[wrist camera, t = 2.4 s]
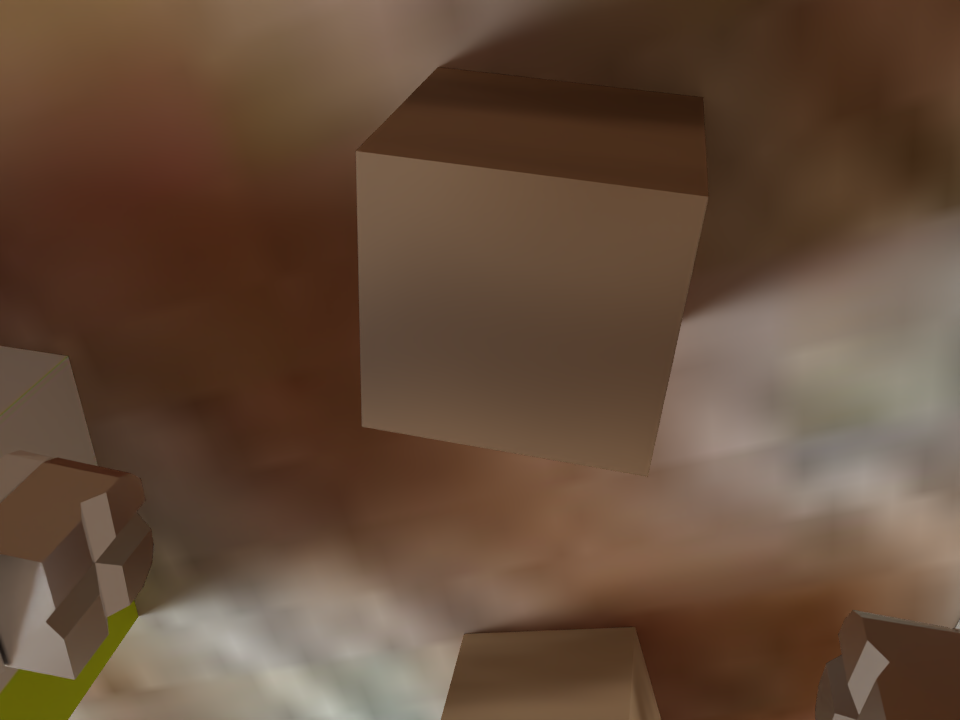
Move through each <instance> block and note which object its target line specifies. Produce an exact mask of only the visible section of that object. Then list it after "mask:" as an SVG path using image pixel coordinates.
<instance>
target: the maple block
mask: <svg viewBox="0 0 960 720" xmlns="http://www.w3.org/2000/svg"><path fill="white" fill-rule="evenodd" d="M441 720H661V717H660V713H659V710H658V706H657V703H656V699H655V696H654V692H653V688H652V685H651V681H650V678H649V674H648V671H647V667H646V664H645V660H644V657H643V653H642V650H641V646H640V643H639V639H638V636H637V632H636V629H635V627H620V628H596V629H572V630H548V631H524V632H500V633H476V634H464V636H463V640H462V644H461V647H460V651H459V655H458V658H457V662H456V666H455V669H454V673H453V677H452V681H451V684H450V688H449V692H448V695H447V699H446V703H445V706H444V710H443V714H442V718H441Z"/></svg>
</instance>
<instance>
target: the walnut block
mask: <svg viewBox="0 0 960 720" xmlns="http://www.w3.org/2000/svg"><path fill="white" fill-rule="evenodd" d="M356 184H357V230H358V276H359V322H360V368H361V414H362V427H366V428H372V429H378V430H384V431H389V432H395V433H401V434H406V435H412V436H418V437H424V438H429V439H435V440H441V441H446V442H452V443H458V444H463V445H469V446H475V447H481V448H486V449H492V450H498V451H503V452H509V453H515V454H521V455H526V456H532V457H538V458H543V459H549V460H555V461H560V462H566V463H572V464H578V465H583V466H589V467H595V468H600V469H606V470H612V471H618V472H623V473H629V474H635V475H640V476H646V477H648V473H649V469H650V464H651V460H652V455H653V450H654V446H655V441H656V437H657V432H658V427H659V423H660V418H661V414H662V409H663V404H664V400H665V395H666V391H667V386H668V382H669V377H670V372H671V368H672V363H673V359H674V354H675V349H676V345H677V340H678V336H679V331H680V326H681V322H682V317H683V313H684V308H685V304H686V299H687V294H688V290H689V285H690V281H691V276H692V271H693V267H694V262H695V258H696V253H697V248H698V244H699V239H700V235H701V230H702V226H703V221H704V216H705V212H706V207H707V203H708V198H709V192H708V175H707V157H706V139H705V122H704V104H703V97H696V96H687V95H678V94H669V93H661V92H652V91H643V90H634V89H626V88H617V87H608V86H599V85H590V84H582V83H573V82H564V81H555V80H547V79H538V78H529V77H520V76H512V75H503V74H494V73H485V72H477V71H468V70H459V69H450V68H442V67H438V68H437V69H436V70H435V71H434V72H433V73H432V74H431V75H430V76H429V77H428V78H427V79H426V80H425V81H424V82H423V83H422V84H421V85H420V86H419V87H418V88H417V89H416V90H415V91H414V92H413V93H412V94H411V95H410V96H409V97H408V98H407V99H406V100H405V101H404V102H403V103H402V104H401V105H400V106H399V107H398V108H397V109H396V111H395V112H394V113H393V114H392V115H391V116H390V117H389V118H388V119H387V120H386V121H385V122H384V123H383V124H382V125H381V126H380V127H379V128H378V129H377V130H376V131H375V132H374V133H373V134H372V135H371V136H370V137H369V138H368V139H367V140H366V141H365V142H364V143H363V144H362V145H361V146H360V147H359V148H358V149H357V150H356Z"/></svg>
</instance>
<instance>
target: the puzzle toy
mask: <svg viewBox="0 0 960 720" xmlns="http://www.w3.org/2000/svg"><path fill="white" fill-rule="evenodd" d="M18 450H22V451H27V452H31V453H36V454H40V455H44V456H49V457H53V458H57V457H58V458H63V459H67V460H72V461H77V462H81V463H86V464H90V465H95V466H98V465H97V461H96V457H95V453H94V450H93V446H92V442H91V439H90V435H89V431H88V427H87V424H86V420H85V416H84V413H83V409H82V405H81V402H80V398H79V394H78V390H77V387H76V383H75V379H74V376H73V372H72V368H71V365H70V361H69V357H68V356H64V355H58V354H51V353H44V352H38V351H31V350H24V349H18V348H11V347H4V346H0V459H1V458H2V457H3V456H4V455H5V454H8V453H12V452H15V451H18ZM137 618H138V613H137V609H136V605H135V602H134V600H133V602H132V603H131V605H129V606H127V607H126V608H124V609H122V610H120V611H118V612H116V613H114V614H112V615H110V616H108V617H107V620H108V632H109V635H108V636H107V637H106V639H105V640H104V641H103V643H102V644H101V645H100V647H99V648H98V649H97V651H96V652H95V653H94V655H93V656H92V657H91V659H90V660H89V662H88V663H87V664H86V666H85V667H84V668H83V670H82V671H81V672H80V674H79V675H78V676H77V678H76V679H75V680H73V679H68V678H63V677H58V676H53V675H48V674H43V673H38V672H33V671H27V670H22V669H17V668H12V667H7V666H5V668H6V670H5V671H4V672H2V673H1V674H0V720H68V719H69V717H70V716H71V715H72V713H73V712H74V710H75V709H76V707H77V706H78V704H79V703H80V701H81V700H82V698H83V697H84V695H85V694H86V693H87V691H88V690H89V688H90V687H91V685H92V684H93V682H94V681H95V679H96V678H97V676H98V675H99V673H100V672H101V671H102V669H103V668H104V666H105V665H106V663H107V662H108V660H109V659H110V657H111V656H112V654H113V653H114V652H115V650H116V649H117V647H118V646H119V644H120V643H121V641H122V640H123V638H124V637H125V635H126V634H127V632H128V631H129V630H130V628H131V627H132V625H133V624H134V622H135V621H136V619H137Z"/></svg>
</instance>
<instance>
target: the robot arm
mask: <svg viewBox="0 0 960 720" xmlns="http://www.w3.org/2000/svg"><path fill="white" fill-rule="evenodd" d="M145 501H146V499H145V495H144V490H143V486H142V482H141V478H139V477H137V476H135V475H133V474H131V473H127V472H123V471H118V470H114V469H109V468H104V467H100V466H95V465H90V464H86V463H81V462H77V461H72V460H67V459H63V458H58V457H57V458H53V457H49V456H44V455H40V454H36V453H31V452H27V451H22V450H18V451H15V452H12V453H8V454H5V455H4V456H3V457H2V458H1V459H0V674H1V673H2V672H4V671H5V670H6V668H5V666H7V667H12V668H17V669H22V670H27V671H33V672H38V673H43V674H48V675H53V676H58V677H63V678H68V679H73V680H75V679H76V678H77V676H78V675H79V674H80V672H81V671H82V670H83V668H84V667H85V666H86V664H87V663H88V662H89V660H90V659H91V657H92V656H93V655H94V653H95V652H96V651H97V649H98V648H99V647H100V645H101V644H102V643H103V641H104V640H105V639H106V637H107V636H108V635H109V632H108V620H107V617H108V616H110V615H112V614H114V613H116V612H118V611H120V610H122V609H124V608H126V607H127V606H129V605H131V603H132V602H133V600H134V599H135V597H136V596H137V595H138V593H139V592H140V590H141V589H142V587H143V586H144V583H145V580H146V578H147V575H148V572H149V570H150V567H151V564H152V558H153V546H154V544H153V538H152V531H151V528H150V527H149V526H148V525H147V523H146V522H145V521H144V520H143V519H142V518H141V516H140V515H139V514H138V513H137V511H138V509H139V508H140V507H141V506H142V504H143V503H144V502H145ZM838 636H839V642H840V647H841V652H842V655H840V656H839V657H837V658H835V659H833V660H831V661H829V662H828V663H826V666H825V669H824V672H823V674H822V677H821V680H820V683H819V687H818V694H817V700H816V707H815V720H960V629H957V628H953V629H950V628H948V627H944V626H938V625H933V624H927V623H922V622H916V621H911V620H905V619H900V618H894V617H889V616H883V615H878V614H872V613H867V612H861V611H856V610H852V611H851V613H850V614H849V615H848V616H847V617H846V618H845V620H844V622H843V625H842V627H841V629H840V632H839V634H838Z"/></svg>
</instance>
